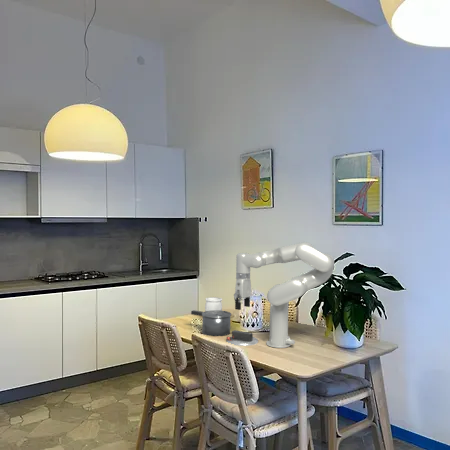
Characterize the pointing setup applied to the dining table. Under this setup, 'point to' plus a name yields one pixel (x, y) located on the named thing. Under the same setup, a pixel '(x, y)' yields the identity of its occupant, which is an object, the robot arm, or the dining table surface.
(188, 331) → the dining table surface
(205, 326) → the grey saucepan
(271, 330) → the robot arm
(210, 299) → the jar
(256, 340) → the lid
